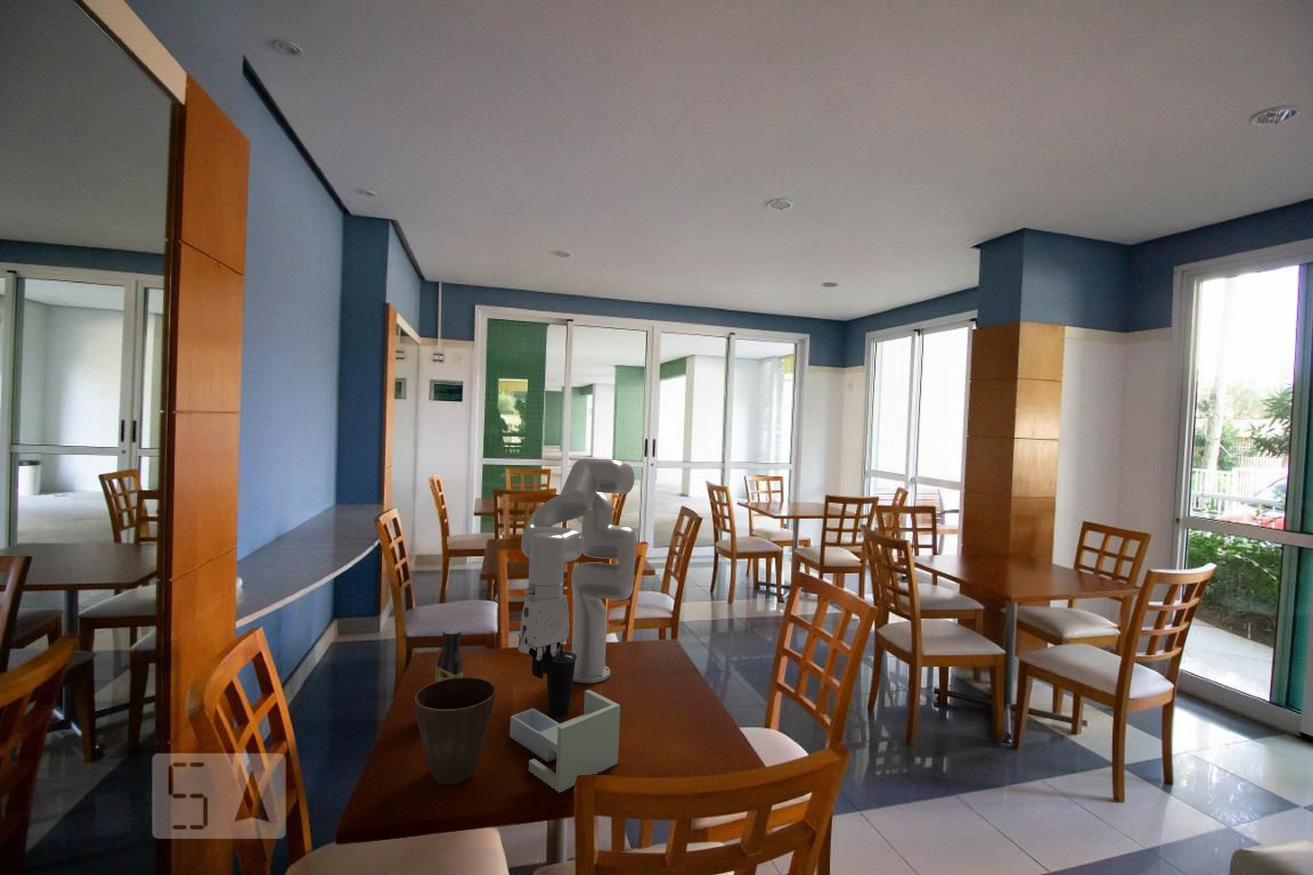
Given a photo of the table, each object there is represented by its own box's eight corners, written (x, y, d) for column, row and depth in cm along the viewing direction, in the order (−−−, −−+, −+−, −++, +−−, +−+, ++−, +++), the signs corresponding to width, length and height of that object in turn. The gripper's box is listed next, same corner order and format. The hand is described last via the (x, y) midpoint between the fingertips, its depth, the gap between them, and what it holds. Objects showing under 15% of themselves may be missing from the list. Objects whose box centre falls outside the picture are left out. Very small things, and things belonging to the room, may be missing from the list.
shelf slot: (528, 770, 116) (531, 710, 116) (586, 744, 127) (589, 689, 127) (559, 792, 109) (561, 728, 110) (617, 763, 120) (620, 704, 120)
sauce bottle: (428, 713, 139) (431, 629, 139) (452, 705, 143) (456, 624, 143) (441, 722, 134) (445, 636, 134) (466, 714, 139) (469, 630, 139)
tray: (570, 751, 124) (571, 730, 124) (547, 762, 120) (548, 740, 120) (532, 727, 134) (533, 707, 134) (509, 736, 129) (510, 716, 129)
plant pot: (411, 804, 104) (415, 714, 105) (410, 761, 118) (414, 682, 118) (497, 787, 110) (500, 702, 110) (486, 748, 124) (490, 673, 124)
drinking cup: (581, 713, 142) (584, 630, 142) (555, 723, 136) (559, 637, 136) (561, 702, 147) (564, 623, 147) (536, 712, 141) (539, 629, 142)
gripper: (524, 600, 119) (521, 690, 118) (584, 588, 130) (581, 670, 130) (504, 592, 124) (501, 679, 124) (564, 581, 135) (560, 661, 135)
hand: (542, 674), depth 127 cm, fingers closed
